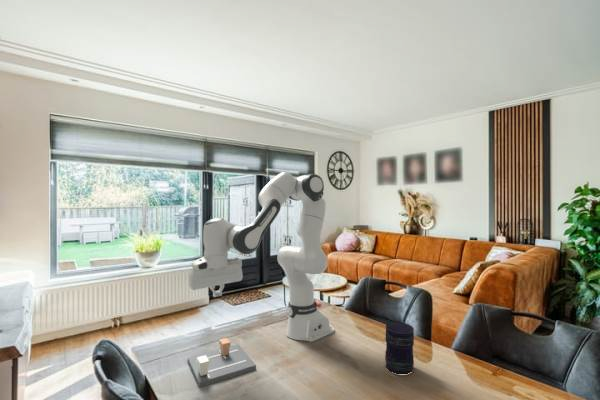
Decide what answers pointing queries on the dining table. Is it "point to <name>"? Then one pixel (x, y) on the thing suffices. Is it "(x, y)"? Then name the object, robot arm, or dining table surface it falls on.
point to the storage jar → (399, 347)
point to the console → (222, 365)
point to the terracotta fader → (224, 346)
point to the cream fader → (203, 365)
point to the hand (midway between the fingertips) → (217, 296)
